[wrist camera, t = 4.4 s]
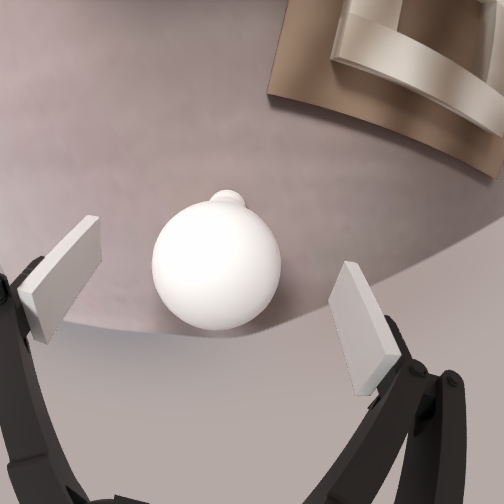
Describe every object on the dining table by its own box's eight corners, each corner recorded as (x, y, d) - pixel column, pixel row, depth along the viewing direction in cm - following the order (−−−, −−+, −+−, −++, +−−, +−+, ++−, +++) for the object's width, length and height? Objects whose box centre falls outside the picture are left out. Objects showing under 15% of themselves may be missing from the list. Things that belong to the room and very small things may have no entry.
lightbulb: (240, 254, 23) (233, 372, 14) (170, 214, 22) (116, 318, 12) (288, 192, 21) (319, 291, 11) (213, 143, 19) (174, 208, 10)
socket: (266, 93, 17) (268, 94, 15) (320, -118, 7) (328, -136, 5) (490, 176, 19) (511, 188, 17) (522, -5, 9) (543, -7, 7)
